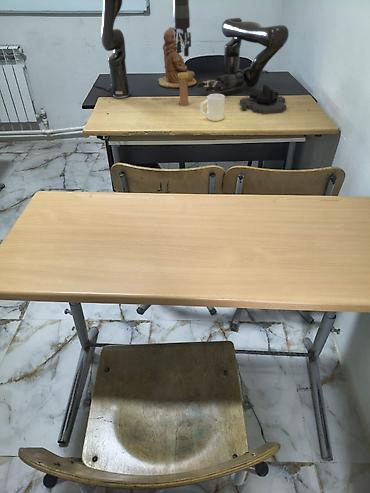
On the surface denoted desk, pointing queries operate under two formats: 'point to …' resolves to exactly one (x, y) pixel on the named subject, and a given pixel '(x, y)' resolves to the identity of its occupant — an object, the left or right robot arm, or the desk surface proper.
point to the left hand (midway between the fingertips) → (182, 54)
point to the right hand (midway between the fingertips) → (201, 87)
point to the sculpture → (173, 63)
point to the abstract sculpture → (264, 101)
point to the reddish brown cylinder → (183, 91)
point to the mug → (214, 107)
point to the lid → (183, 75)
